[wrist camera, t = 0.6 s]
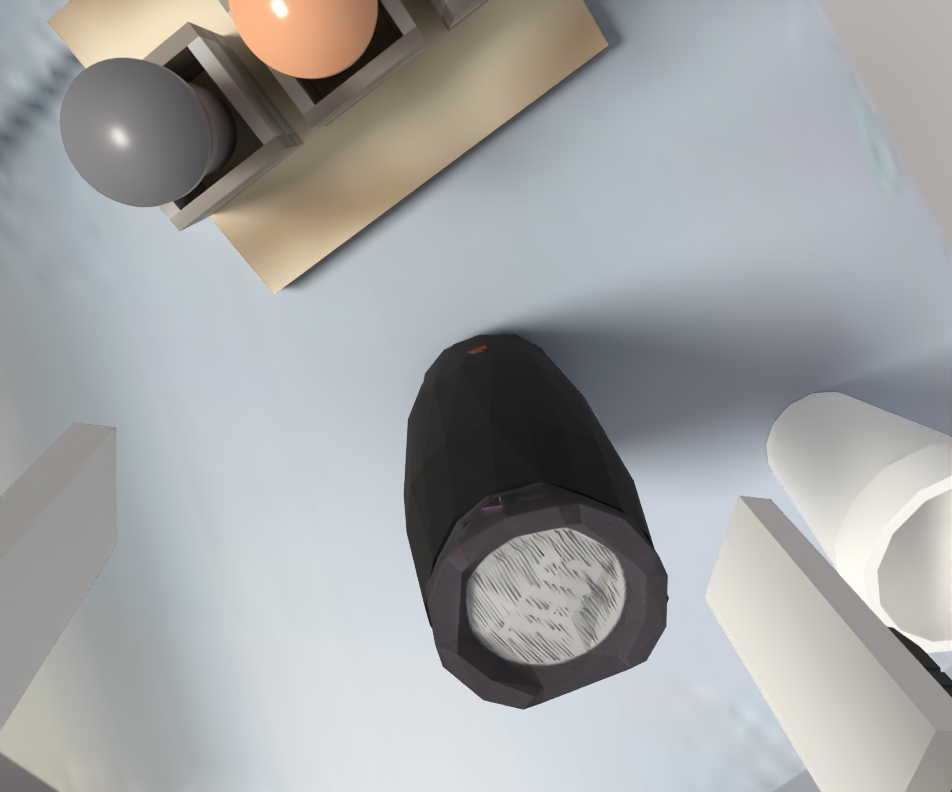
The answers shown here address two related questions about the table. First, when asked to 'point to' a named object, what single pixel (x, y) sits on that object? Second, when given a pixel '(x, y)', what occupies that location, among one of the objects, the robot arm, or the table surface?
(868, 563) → the foam cup
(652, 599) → the portable speaker
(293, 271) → the board
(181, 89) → the plunger charcoal
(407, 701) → the table surface
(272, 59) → the plunger terracotta
